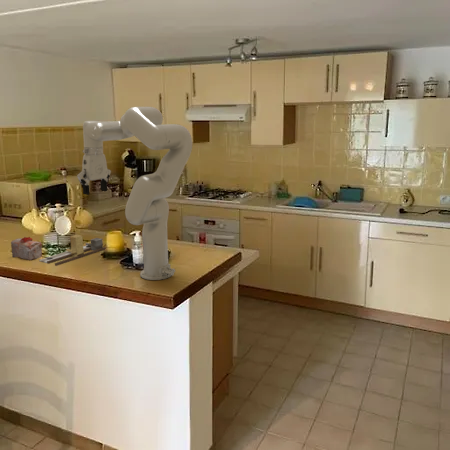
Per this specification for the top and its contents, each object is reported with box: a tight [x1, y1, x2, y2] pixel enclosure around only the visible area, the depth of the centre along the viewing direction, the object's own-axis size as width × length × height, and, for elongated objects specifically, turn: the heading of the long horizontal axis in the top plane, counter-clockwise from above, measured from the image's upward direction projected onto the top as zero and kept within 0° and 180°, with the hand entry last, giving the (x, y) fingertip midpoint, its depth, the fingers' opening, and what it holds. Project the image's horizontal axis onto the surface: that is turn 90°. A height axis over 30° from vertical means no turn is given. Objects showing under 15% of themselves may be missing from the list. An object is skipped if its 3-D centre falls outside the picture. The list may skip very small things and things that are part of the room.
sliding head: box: [65, 234, 85, 258], centre depth 202 cm, size 9×4×9 cm, turn 57°
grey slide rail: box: [39, 237, 107, 267], centre depth 203 cm, size 12×30×6 cm, turn 147°
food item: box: [10, 236, 43, 261], centre depth 201 cm, size 14×8×10 cm, turn 63°
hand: (95, 192), depth 194 cm, fingers open, 9 cm apart
